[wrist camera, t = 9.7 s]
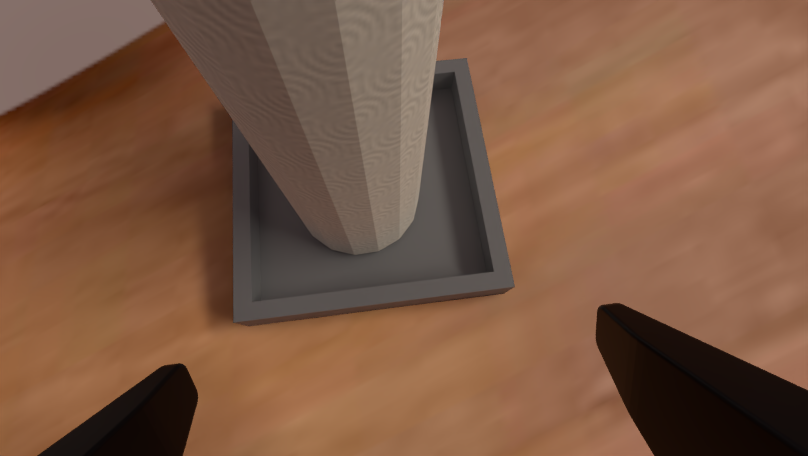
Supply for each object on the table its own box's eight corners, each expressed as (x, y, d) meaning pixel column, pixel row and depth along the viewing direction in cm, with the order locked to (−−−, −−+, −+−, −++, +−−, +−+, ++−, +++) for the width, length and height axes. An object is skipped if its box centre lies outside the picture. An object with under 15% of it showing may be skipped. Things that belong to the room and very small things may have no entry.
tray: (503, 293, 21) (514, 286, 19) (248, 326, 20) (233, 322, 18) (461, 81, 25) (466, 58, 23) (245, 103, 24) (232, 81, 22)
